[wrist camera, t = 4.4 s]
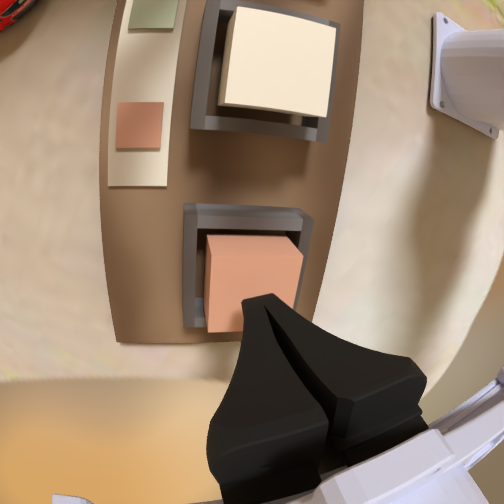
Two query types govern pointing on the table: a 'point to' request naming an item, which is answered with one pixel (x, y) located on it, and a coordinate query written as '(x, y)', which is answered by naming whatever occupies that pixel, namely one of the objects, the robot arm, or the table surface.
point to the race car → (13, 11)
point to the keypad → (209, 161)
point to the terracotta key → (246, 275)
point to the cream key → (276, 63)
